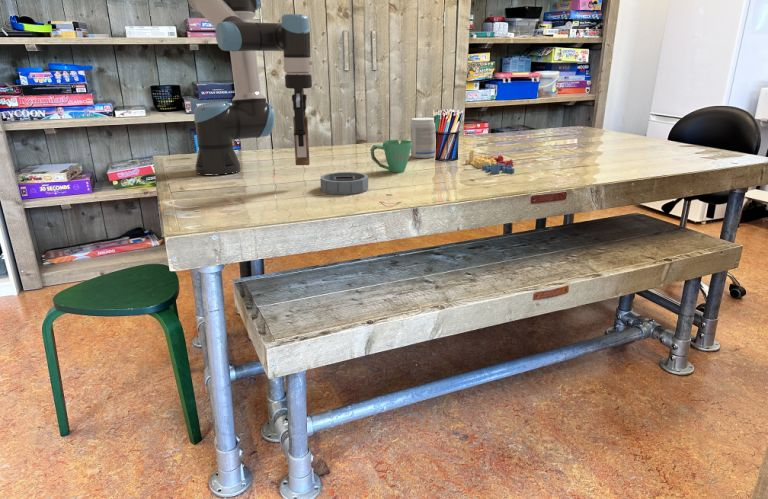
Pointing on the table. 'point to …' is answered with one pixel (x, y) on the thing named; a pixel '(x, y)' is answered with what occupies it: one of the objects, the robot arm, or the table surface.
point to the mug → (394, 154)
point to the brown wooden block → (306, 159)
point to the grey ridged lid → (344, 183)
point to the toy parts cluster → (491, 163)
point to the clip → (344, 178)
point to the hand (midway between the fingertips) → (302, 156)
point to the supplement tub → (422, 137)
